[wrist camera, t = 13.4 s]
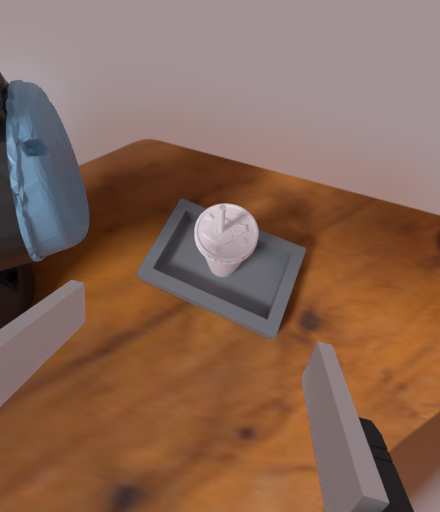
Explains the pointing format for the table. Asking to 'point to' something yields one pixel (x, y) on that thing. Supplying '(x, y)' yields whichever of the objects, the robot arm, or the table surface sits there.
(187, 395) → the table surface
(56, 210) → the robot arm
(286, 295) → the tray
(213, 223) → the smoothie
